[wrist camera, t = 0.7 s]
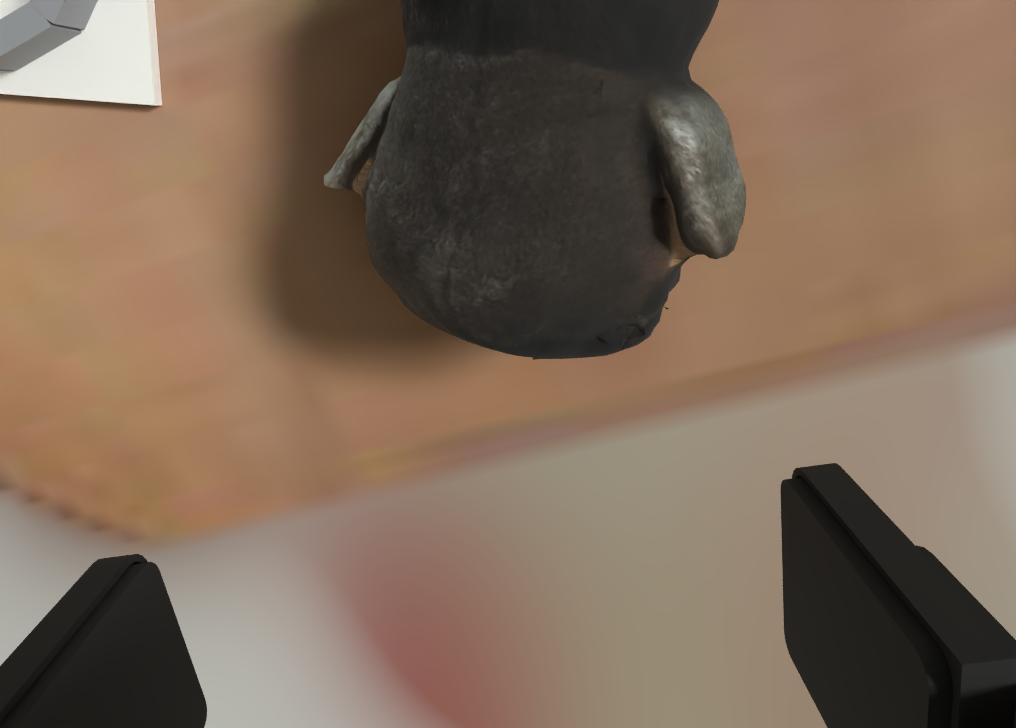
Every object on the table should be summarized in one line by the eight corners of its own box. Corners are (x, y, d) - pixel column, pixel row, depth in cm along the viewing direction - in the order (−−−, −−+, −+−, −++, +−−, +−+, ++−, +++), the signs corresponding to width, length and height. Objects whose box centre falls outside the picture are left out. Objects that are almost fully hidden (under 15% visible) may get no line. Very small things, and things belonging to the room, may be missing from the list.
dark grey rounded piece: (416, 270, 44) (258, 335, 33) (406, -139, 37) (193, -236, 25) (751, 321, 37) (692, 428, 25) (829, -186, 29) (793, -354, 18)
